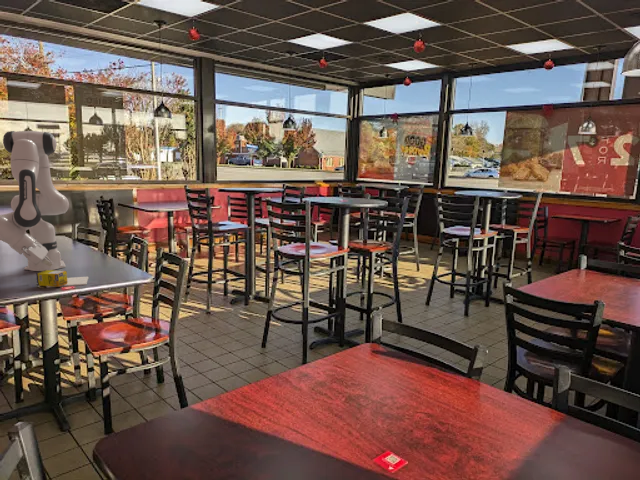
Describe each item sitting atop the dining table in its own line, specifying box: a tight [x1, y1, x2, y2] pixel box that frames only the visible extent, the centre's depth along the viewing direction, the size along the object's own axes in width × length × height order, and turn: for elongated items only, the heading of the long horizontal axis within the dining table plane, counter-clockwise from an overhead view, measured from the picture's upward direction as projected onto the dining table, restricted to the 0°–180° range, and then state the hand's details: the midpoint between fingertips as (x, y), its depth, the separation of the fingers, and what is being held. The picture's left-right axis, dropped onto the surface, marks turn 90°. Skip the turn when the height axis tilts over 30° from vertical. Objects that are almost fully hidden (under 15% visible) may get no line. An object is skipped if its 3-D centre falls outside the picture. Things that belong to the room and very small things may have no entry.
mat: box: [46, 276, 89, 288], centre depth 221 cm, size 14×16×1 cm
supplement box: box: [35, 270, 68, 288], centre depth 214 cm, size 6×6×11 cm
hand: (51, 264), depth 217 cm, fingers closed
